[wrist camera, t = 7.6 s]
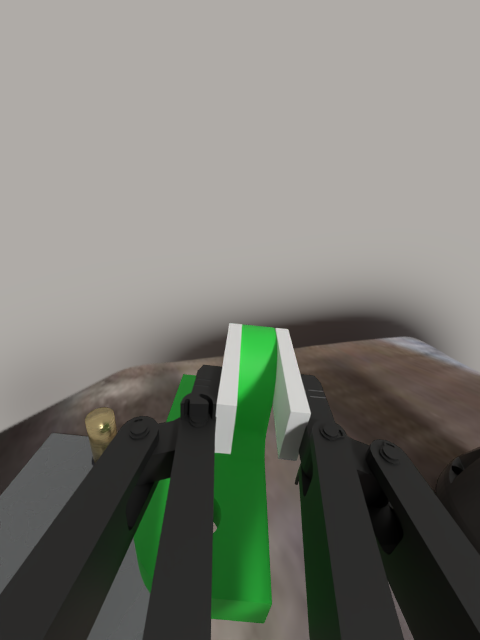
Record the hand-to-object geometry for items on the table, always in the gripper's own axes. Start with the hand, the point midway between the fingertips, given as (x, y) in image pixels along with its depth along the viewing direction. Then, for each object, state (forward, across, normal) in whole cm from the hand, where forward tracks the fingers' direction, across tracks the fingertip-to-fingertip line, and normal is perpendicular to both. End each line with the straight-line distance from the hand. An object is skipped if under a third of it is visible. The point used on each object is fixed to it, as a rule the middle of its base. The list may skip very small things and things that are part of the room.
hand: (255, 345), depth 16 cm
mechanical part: (-4, -2, -7) cm, 8 cm away
